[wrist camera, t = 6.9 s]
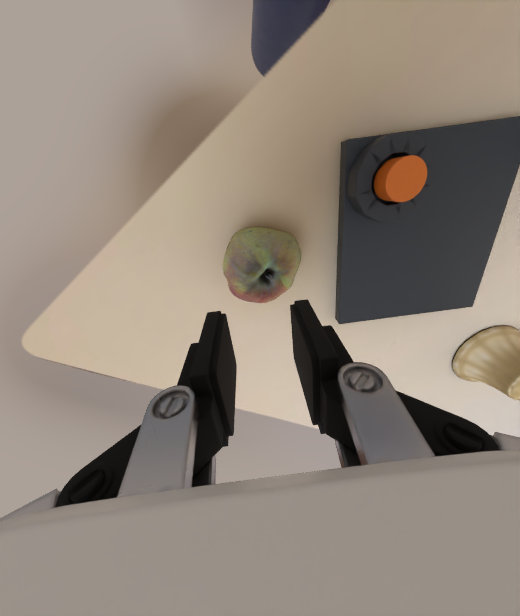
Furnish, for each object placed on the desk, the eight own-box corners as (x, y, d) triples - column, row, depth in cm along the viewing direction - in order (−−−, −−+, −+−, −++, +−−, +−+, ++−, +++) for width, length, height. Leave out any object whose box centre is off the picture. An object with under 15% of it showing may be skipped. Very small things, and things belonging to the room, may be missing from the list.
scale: (341, 142, 19) (356, 135, 16) (520, 117, 19) (566, 106, 16) (335, 318, 26) (345, 333, 23) (463, 301, 26) (488, 315, 23)
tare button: (375, 160, 17) (388, 158, 15) (414, 155, 17) (431, 152, 15) (371, 202, 18) (383, 204, 17) (408, 198, 18) (423, 199, 17)
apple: (198, 240, 21) (184, 259, 16) (283, 207, 21) (297, 216, 15) (225, 297, 24) (220, 329, 19) (301, 270, 23) (318, 295, 18)
